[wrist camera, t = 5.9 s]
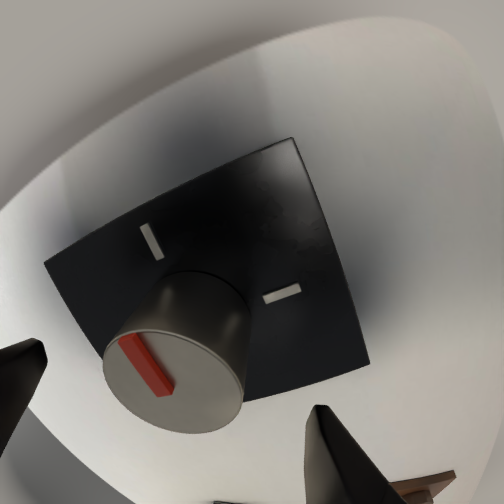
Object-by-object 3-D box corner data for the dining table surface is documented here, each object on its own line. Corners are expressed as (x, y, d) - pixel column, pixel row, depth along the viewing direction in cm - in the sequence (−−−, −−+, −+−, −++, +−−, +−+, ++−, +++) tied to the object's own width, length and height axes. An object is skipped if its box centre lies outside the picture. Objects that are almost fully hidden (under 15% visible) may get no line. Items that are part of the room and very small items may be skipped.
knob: (268, 348, 12) (265, 431, 8) (177, 372, 13) (149, 444, 9) (222, 254, 11) (194, 317, 7) (126, 290, 12) (72, 352, 8)
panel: (287, 139, 12) (293, 135, 9) (356, 328, 15) (371, 366, 12) (75, 243, 14) (40, 263, 11) (163, 384, 17) (148, 420, 14)
